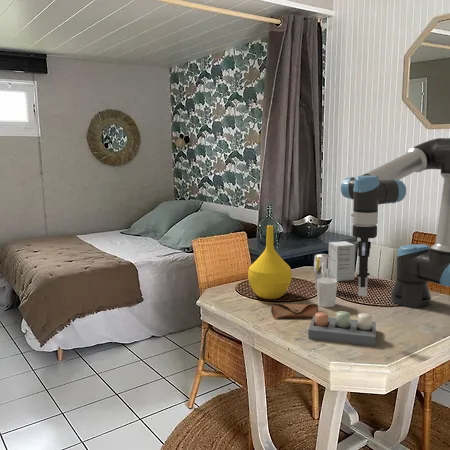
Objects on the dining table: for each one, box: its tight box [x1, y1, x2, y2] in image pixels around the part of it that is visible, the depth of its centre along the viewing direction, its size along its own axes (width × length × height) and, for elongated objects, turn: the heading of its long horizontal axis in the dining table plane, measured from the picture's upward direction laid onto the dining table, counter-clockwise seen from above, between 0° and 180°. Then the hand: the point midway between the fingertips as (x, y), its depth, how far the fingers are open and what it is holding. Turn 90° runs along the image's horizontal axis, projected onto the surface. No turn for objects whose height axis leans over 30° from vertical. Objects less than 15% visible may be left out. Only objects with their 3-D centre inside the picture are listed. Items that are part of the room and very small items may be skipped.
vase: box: [247, 224, 293, 300], centre depth 194 cm, size 18×18×30 cm
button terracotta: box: [315, 311, 329, 327], centre depth 158 cm, size 4×4×4 cm
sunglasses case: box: [270, 303, 319, 320], centre depth 174 cm, size 18×7×7 cm, turn 90°
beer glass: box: [313, 253, 330, 291], centre depth 204 cm, size 7×7×15 cm
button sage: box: [335, 310, 351, 327], centre depth 156 cm, size 4×4×4 cm
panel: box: [307, 316, 377, 347], centre depth 156 cm, size 21×13×3 cm, turn 72°
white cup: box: [316, 277, 338, 308], centre depth 184 cm, size 8×8×10 cm
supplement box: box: [328, 240, 356, 282], centre depth 219 cm, size 10×9×17 cm
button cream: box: [357, 312, 373, 330], centre depth 153 cm, size 4×4×4 cm
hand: (362, 295), depth 153 cm, fingers closed
